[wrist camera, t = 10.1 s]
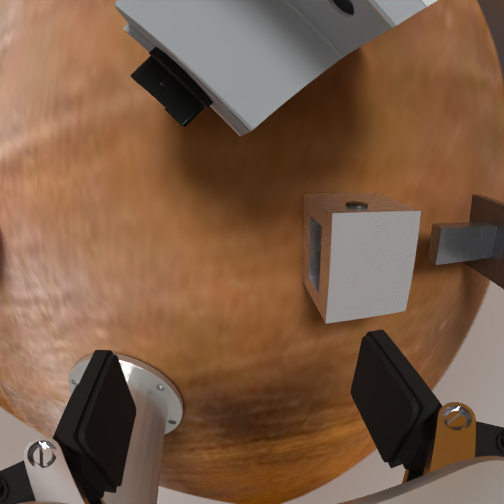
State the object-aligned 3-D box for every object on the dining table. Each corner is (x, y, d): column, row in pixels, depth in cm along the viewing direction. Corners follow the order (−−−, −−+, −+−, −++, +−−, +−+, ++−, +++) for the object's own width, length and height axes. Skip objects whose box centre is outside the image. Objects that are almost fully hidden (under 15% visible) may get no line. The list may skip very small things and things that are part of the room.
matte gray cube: (368, 273, 25) (405, 310, 19) (302, 280, 24) (325, 323, 18) (375, 190, 22) (421, 208, 16) (303, 191, 22) (332, 210, 16)
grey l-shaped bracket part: (471, 260, 26) (565, 326, 13) (407, 269, 25) (511, 359, 12) (481, 195, 23) (591, 240, 10) (416, 192, 23) (549, 248, 9)
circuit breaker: (147, 84, 18) (28, 4, 4) (292, -24, 16) (363, -146, 2) (219, 154, 20) (208, 176, 6) (359, 41, 18) (497, -31, 4)
